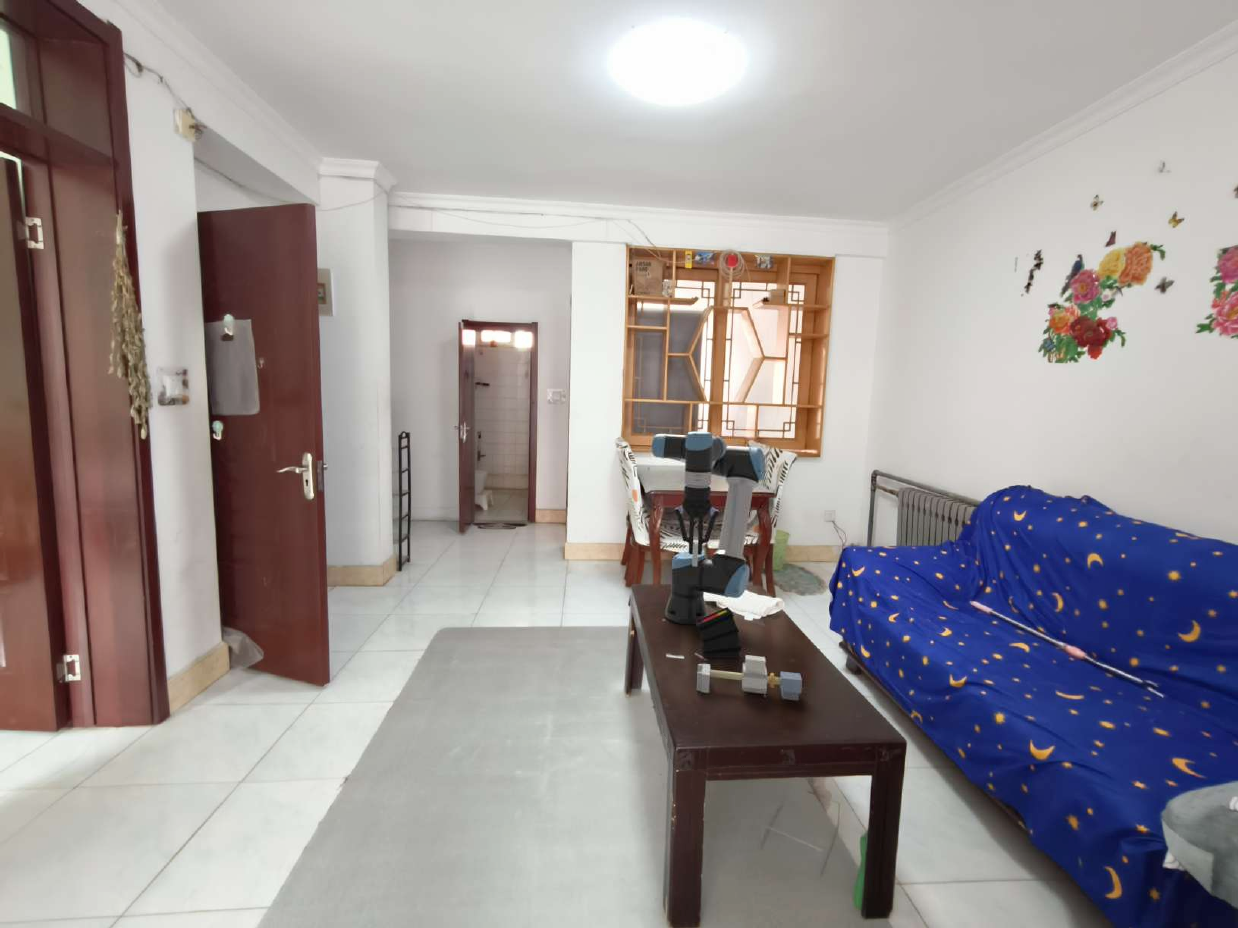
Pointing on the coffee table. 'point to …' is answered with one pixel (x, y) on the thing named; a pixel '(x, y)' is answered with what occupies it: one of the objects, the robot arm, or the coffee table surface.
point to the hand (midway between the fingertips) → (694, 564)
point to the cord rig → (787, 680)
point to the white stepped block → (754, 674)
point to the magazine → (719, 635)
